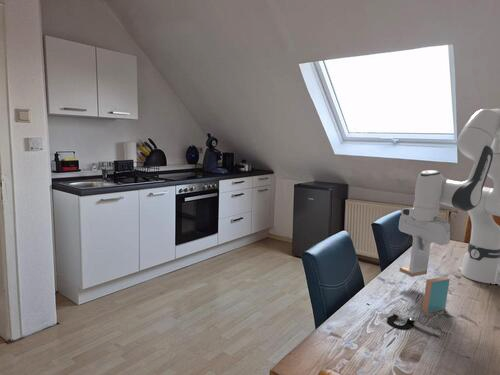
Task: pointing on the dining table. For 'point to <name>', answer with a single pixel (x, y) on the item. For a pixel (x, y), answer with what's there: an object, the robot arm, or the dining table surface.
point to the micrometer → (410, 323)
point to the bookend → (417, 259)
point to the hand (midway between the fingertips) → (420, 249)
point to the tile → (435, 294)
